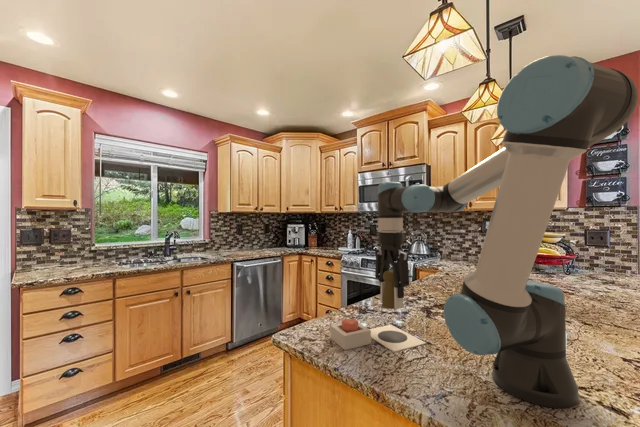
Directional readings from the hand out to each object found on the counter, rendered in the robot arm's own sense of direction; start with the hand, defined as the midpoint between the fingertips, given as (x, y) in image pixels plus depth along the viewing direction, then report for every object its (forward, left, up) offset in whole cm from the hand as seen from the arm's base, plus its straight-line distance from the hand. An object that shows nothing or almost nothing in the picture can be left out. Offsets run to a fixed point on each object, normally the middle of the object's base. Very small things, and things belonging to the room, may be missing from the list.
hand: (391, 304), depth 89 cm
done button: (+4, +13, -7) cm, 15 cm away
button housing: (+4, +13, -10) cm, 17 cm away
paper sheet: (0, 0, -10) cm, 10 cm away
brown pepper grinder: (0, 0, 0) cm, 0 cm away
